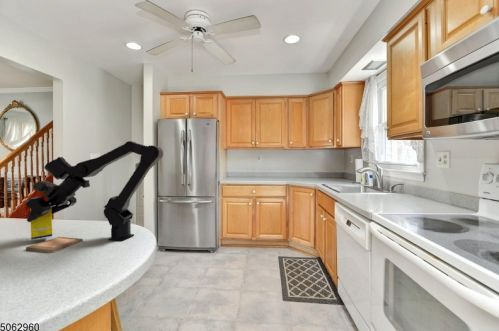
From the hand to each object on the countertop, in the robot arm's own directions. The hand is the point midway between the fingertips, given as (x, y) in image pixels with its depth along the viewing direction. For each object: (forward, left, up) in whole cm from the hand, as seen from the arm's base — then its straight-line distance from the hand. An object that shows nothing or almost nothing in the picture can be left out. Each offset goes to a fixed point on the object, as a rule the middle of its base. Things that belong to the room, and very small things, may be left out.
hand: (37, 218), depth 88 cm
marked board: (+3, +12, -8) cm, 15 cm away
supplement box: (0, +1, -7) cm, 7 cm away
